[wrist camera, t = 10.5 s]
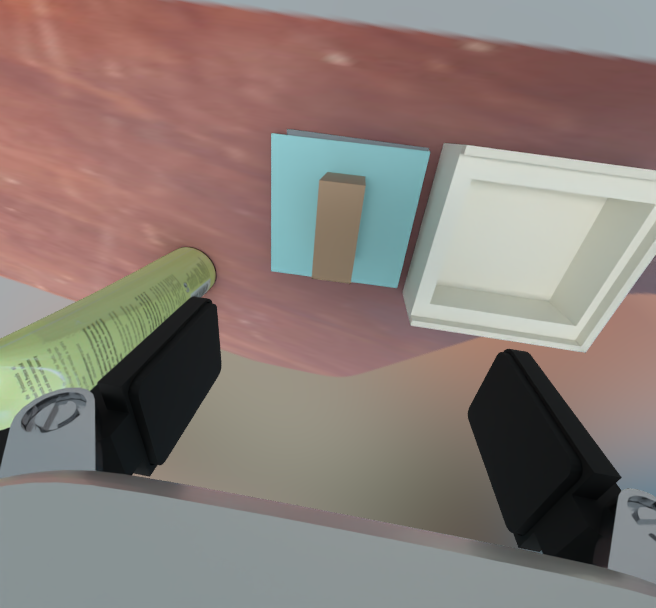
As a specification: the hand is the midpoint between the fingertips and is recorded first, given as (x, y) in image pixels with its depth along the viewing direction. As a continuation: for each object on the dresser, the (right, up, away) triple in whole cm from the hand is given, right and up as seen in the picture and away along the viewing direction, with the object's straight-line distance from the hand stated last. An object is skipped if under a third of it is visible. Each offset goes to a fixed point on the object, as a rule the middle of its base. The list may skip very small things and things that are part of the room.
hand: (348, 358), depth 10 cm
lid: (+1, +9, +16) cm, 18 cm away
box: (+14, +7, +16) cm, 22 cm away
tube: (-14, +6, +20) cm, 25 cm away
